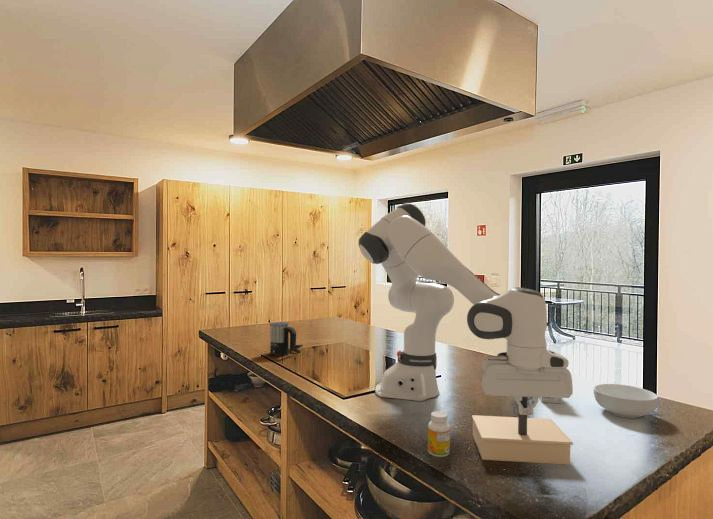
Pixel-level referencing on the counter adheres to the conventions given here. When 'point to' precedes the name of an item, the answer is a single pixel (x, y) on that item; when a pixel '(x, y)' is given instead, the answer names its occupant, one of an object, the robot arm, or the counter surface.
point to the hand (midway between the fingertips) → (525, 414)
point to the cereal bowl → (625, 400)
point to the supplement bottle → (439, 434)
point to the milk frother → (282, 339)
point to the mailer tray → (522, 451)
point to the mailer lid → (520, 429)
